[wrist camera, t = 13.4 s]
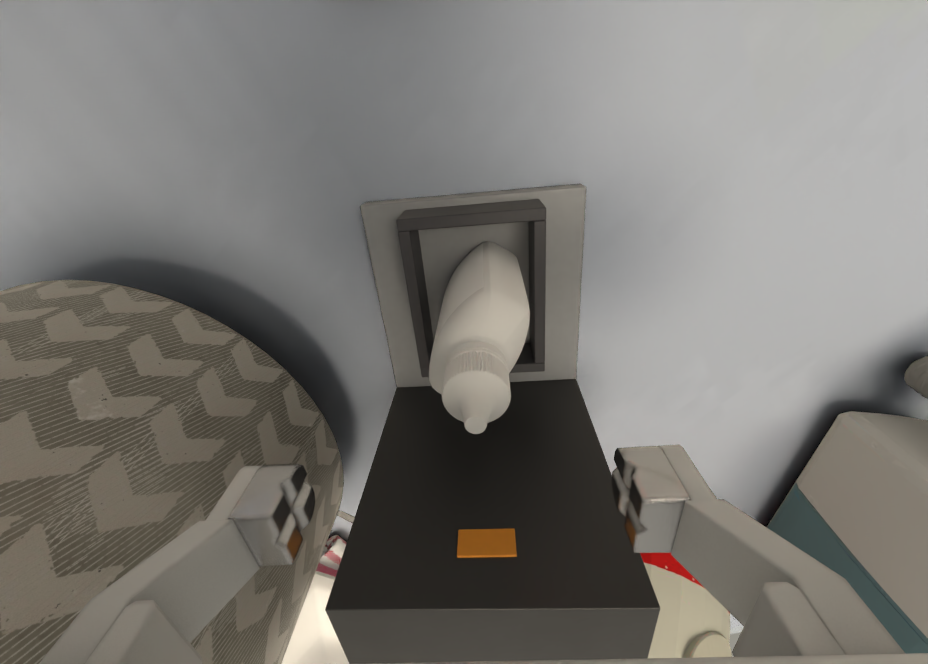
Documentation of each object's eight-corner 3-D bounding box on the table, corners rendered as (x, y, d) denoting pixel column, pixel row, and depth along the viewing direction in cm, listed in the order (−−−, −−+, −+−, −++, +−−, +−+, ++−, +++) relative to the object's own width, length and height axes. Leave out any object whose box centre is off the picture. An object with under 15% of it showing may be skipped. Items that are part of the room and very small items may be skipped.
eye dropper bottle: (417, 280, 23) (362, 414, 12) (501, 229, 21) (520, 332, 11) (458, 336, 25) (440, 497, 14) (538, 292, 23) (587, 436, 12)
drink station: (365, 202, 22) (192, 316, 9) (581, 183, 21) (746, 280, 8) (410, 432, 30) (353, 674, 17) (569, 425, 29) (643, 677, 16)
